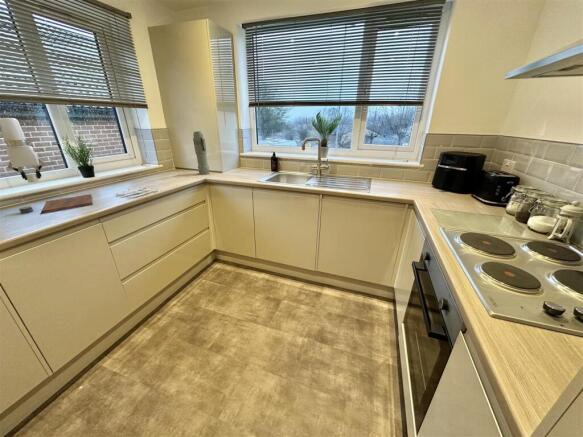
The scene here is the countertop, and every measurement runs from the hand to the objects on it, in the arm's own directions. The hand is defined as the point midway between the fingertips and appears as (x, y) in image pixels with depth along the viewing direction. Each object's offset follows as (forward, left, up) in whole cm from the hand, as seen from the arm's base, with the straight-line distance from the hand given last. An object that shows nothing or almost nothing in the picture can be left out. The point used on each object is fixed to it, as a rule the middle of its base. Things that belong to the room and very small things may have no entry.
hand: (33, 178), depth 129 cm
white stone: (0, 0, -2) cm, 2 cm away
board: (+10, -6, -16) cm, 20 cm away
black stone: (-5, -15, -16) cm, 22 cm away
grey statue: (+100, +23, -16) cm, 104 cm away
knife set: (+50, -4, -16) cm, 53 cm away
